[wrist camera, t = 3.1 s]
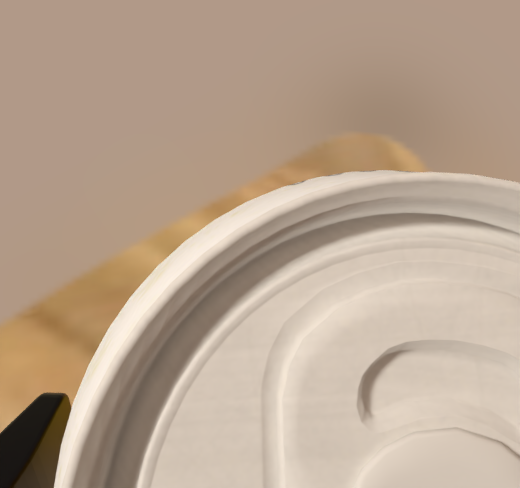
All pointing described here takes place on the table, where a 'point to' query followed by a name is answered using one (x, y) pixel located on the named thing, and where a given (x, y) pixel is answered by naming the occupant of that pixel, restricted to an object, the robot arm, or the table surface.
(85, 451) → the beer can
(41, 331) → the table surface
